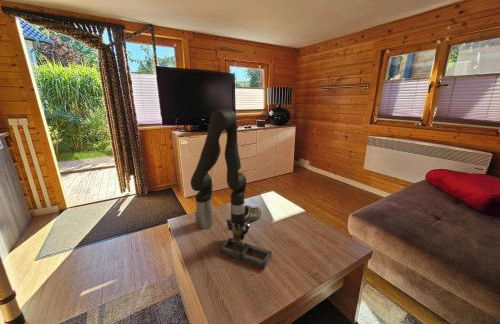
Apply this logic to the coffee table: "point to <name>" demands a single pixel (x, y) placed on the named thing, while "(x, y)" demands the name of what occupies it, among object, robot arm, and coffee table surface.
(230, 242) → the dark grey rectangular tray
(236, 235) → the block
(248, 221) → the hiking shoe
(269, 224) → the coffee table surface
